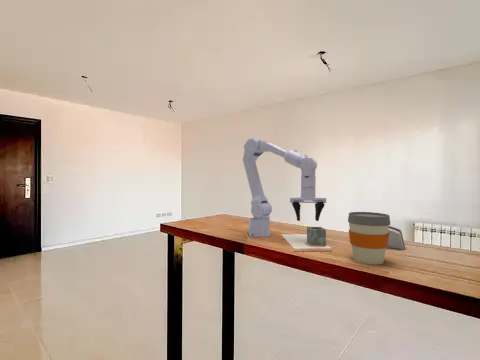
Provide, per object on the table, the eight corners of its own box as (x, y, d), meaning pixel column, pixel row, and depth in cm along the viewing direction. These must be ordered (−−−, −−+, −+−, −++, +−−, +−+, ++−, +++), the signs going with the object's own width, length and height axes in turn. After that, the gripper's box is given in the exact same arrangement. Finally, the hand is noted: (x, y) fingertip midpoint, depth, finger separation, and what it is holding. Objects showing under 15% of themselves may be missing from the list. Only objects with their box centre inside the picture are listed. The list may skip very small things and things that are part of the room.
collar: (310, 245, 101) (311, 229, 101) (306, 241, 107) (306, 226, 106) (325, 245, 101) (325, 229, 101) (320, 241, 107) (320, 226, 107)
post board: (294, 251, 97) (294, 234, 97) (281, 237, 121) (281, 223, 121) (332, 251, 98) (332, 234, 98) (312, 236, 122) (312, 223, 122)
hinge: (405, 247, 105) (404, 224, 102) (403, 253, 102) (402, 230, 99) (360, 240, 116) (358, 219, 113) (357, 246, 112) (355, 224, 110)
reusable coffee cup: (353, 252, 97) (354, 210, 97) (393, 259, 89) (393, 214, 89) (342, 260, 87) (342, 214, 87) (385, 269, 79) (385, 218, 79)
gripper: (292, 187, 106) (292, 222, 106) (329, 187, 106) (328, 222, 106) (288, 186, 113) (288, 219, 113) (323, 187, 113) (322, 219, 113)
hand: (307, 220), depth 110 cm, fingers open, 7 cm apart
